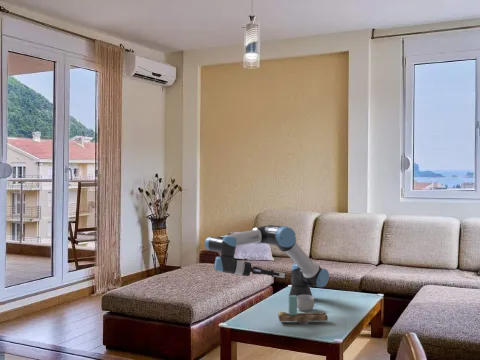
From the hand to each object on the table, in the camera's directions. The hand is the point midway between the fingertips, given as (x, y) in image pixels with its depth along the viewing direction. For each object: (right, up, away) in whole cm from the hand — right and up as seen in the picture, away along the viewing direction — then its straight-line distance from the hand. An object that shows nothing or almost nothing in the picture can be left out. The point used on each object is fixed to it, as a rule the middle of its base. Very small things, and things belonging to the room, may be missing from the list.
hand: (284, 275), depth 289 cm
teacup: (+13, -25, +25) cm, 38 cm away
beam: (+10, -26, -1) cm, 28 cm away
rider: (+5, -22, -2) cm, 23 cm away
